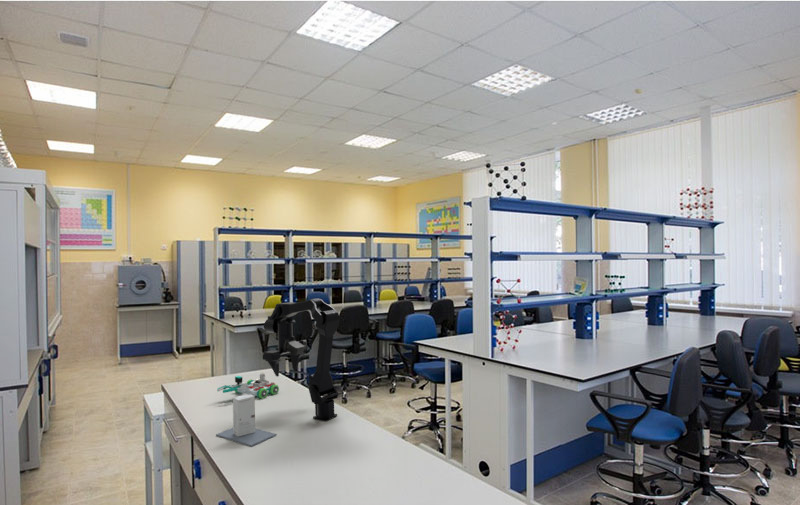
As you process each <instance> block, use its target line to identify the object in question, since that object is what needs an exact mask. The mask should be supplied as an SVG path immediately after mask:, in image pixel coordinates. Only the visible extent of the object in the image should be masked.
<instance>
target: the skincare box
mask: <svg viewBox="0 0 800 505" xmlns="http://www.w3.org/2000/svg"><path fill="white" fill-rule="evenodd" d="M255 397H256V396H254V395H251V394H247V393H246V394H242V395H239V396H234V397H232V421H233V427H232V428H233V433H234V434H235V435H236V436H238V437H239V436H243V435H247V434H250V433H254V432H255V428H256V401H255V400H256V399H255Z"/></svg>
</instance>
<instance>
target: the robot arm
mask: <svg viewBox="0 0 800 505" xmlns="http://www.w3.org/2000/svg"><path fill="white" fill-rule="evenodd" d="M305 311H310V313H311V318H312V319H313V320H314V321H315V322H316V323H315V327H316V329H317V331H318V333H319V335H318V336H319V337H318V349H317V357H316V367H315V372H314V373H313V374H310V375H309V377H308V385H307V386H308V392H309V396H310V400H311V403H313V404H314V406H315V409H314V410H315V411H314V412H315V415H314V416H313V417H312V419H314V420H318V421H319V420H320V421H325V422H327V421H329V420H331V419H333V418H335V417H338V414H337V413H335V399H338V397H339V392H338V391H337V389H336V387H335V385H334V384H333V377H332V375H331V373H330V369H331V368H330V367H331V360H332V359H331V358H332V352H333V351H332V350H333V343H334V342H333V341H334V335H335V333H336V331H337V330H338V328H339V326H340V322H341V314H339V312H338V310H336V309H335V308H334V307H333V306H331V305H330V304H328V303H326V302H325V301H324V300H323V299H321V298H310V299H307V300H305V301H299V302H292V301H288V302H281V303H277V304H275V307H274V309H273V310H272V313H271V315H268V316H267V319H266V320H265V321H264V324H263V329H264V331H265V332H266V333H272V334H277V336H276V337H275V340H276V341H277V347H275V350H268V351H267V350H266V351H264V352H262V360H265V362H267V363H268V364H269V366H270V367H271V369H272V371H273V373H274V375H275V377H277V378H278V377H279V376H280V363H281V361H282V359H281V357H282V356H285V355H288V354H290V358H291V366H292V370H293V371H294V372H296V371H297V369H298V365H299V363H300V360H301V358H302V356H304V355H305V354H306V353H307V352H308V346H307V340H305V339H303V340H300V341H299V340H298V341H297V340H296V336H294V335H293V333H294V332H293V331H294V330H293V324H296V323H297V322H296V320H295V319H294V318H293V316H295V315H297V314H298V313H302V312H305Z"/></svg>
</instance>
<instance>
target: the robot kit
mask: <svg viewBox="0 0 800 505" xmlns="http://www.w3.org/2000/svg"><path fill="white" fill-rule="evenodd" d="M234 382H235V383H234V384H230V385H225V384H224V385H223V386H220V387H217V392H221V391H222V393H223V394H226V393H230V392H234V393H236V394H241V393H243V394H246V395H247V394H251V395H253V396H255V397H257V398H259V399H265V398H266V397H267V396H268V395H269V394H271V395H276V394H278V393H279V391H280V387H279V384H276V383H275V382H274V381H271V382H270V381H269V380H267V379H266V374H265V373H263V372H261V373H260V374H259V378H257V379H254V380H253V379H249V380H248V381H246V382H245V381H243V376H242V375H241V376H240V375H236V376H234Z"/></svg>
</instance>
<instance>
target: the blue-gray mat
mask: <svg viewBox="0 0 800 505" xmlns="http://www.w3.org/2000/svg"><path fill="white" fill-rule="evenodd" d="M215 436H216V437H219V438H221V439H225V440H228V441H231V442H236V443H238V444H241V445H245V446H248V447H255V446H257V445H258V444H259V445H260V443H263V442H266V441H267V440H269V439H272V438H274V437H276V436H277V433H274V432H271V431H266V430H264V429H263V430H262V429H260V428H256V427H255V432H254V433H250V434H247V435H243V436H239V437H238V436H236V435H235V434H234V433H233V427H231V428H229V429H226V430H223V431H220V432H219V433H216V434H215Z"/></svg>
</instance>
